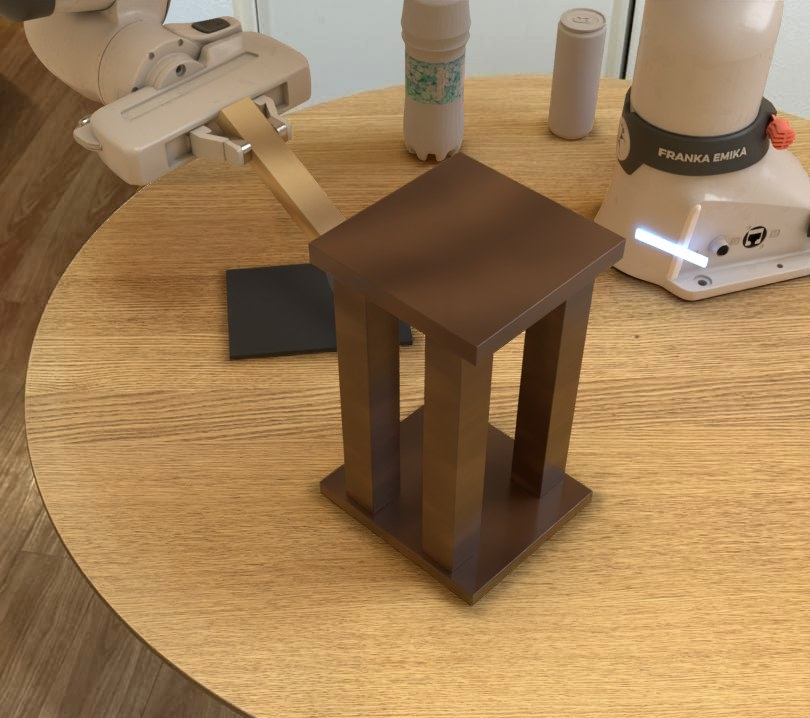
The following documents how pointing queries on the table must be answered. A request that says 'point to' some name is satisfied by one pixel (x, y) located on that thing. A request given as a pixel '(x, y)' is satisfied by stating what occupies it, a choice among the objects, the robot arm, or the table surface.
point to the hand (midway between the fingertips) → (266, 145)
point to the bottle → (434, 75)
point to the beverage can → (576, 72)
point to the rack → (461, 366)
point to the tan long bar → (281, 171)
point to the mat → (283, 312)
